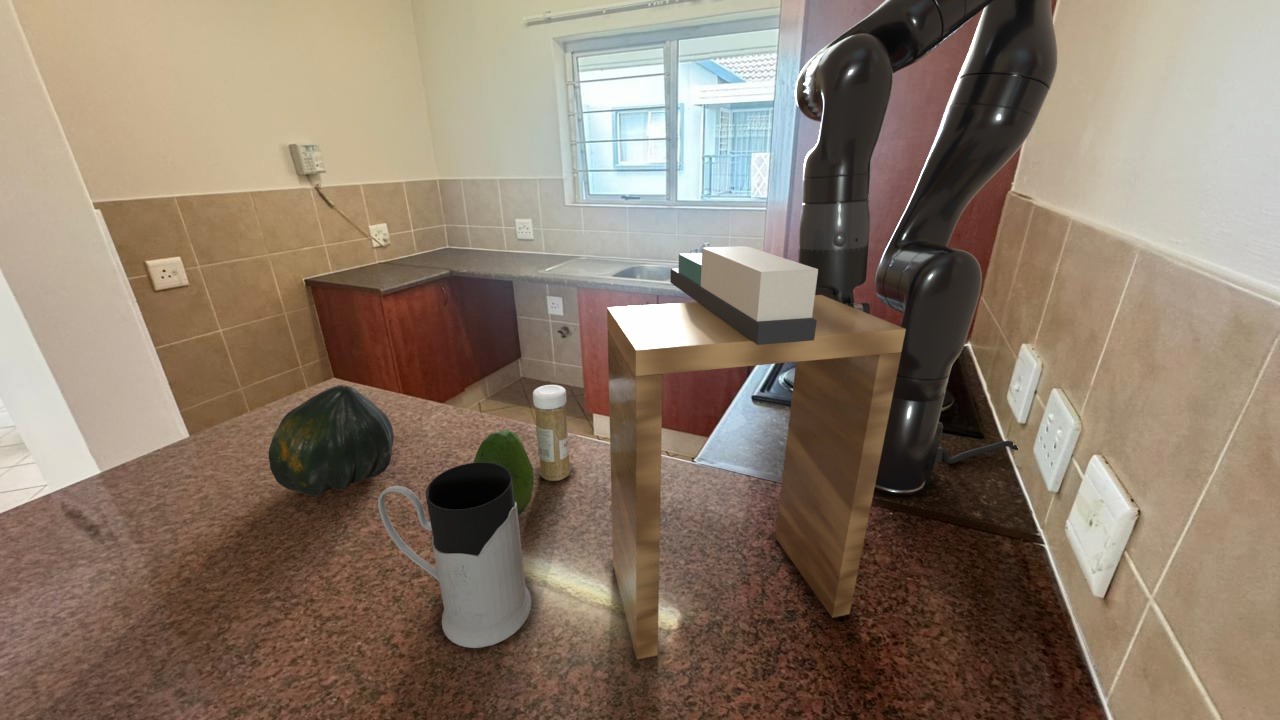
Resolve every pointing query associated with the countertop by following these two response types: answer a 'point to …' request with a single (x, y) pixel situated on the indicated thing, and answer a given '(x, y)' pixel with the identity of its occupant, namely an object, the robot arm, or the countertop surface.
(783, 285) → the beige green block bar
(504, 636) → the glass holder
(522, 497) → the avocado
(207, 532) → the countertop surface
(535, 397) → the spice jar
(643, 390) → the wooden stand
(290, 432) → the squash
